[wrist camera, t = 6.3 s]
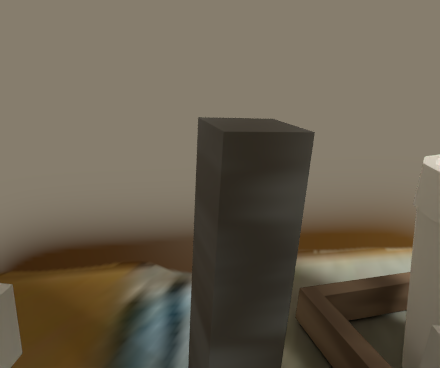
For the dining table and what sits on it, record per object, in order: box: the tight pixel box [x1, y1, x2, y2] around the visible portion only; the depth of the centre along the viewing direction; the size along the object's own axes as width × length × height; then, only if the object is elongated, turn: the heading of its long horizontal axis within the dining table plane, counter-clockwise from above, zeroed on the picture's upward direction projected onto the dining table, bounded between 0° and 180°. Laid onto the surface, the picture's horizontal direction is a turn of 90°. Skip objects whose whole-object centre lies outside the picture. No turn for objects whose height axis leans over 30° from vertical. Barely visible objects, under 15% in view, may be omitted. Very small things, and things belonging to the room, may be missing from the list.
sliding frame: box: [188, 117, 410, 368], centre depth 17 cm, size 24×14×15 cm, turn 107°
